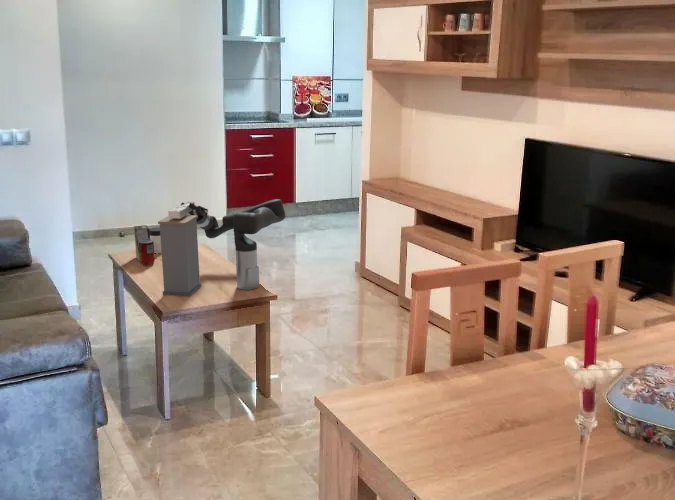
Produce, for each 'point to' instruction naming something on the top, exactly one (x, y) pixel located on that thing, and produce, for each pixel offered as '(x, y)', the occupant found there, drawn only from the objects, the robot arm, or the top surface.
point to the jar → (156, 239)
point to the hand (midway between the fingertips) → (186, 204)
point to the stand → (180, 255)
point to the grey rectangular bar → (180, 211)
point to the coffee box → (140, 236)
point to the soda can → (146, 252)
